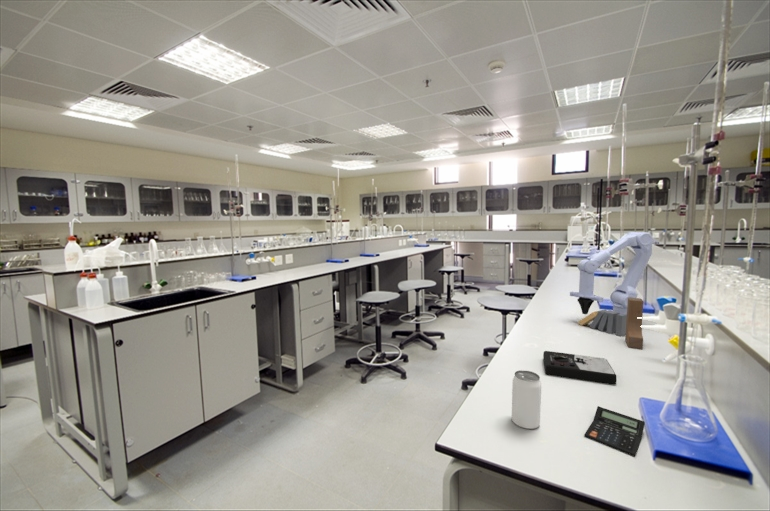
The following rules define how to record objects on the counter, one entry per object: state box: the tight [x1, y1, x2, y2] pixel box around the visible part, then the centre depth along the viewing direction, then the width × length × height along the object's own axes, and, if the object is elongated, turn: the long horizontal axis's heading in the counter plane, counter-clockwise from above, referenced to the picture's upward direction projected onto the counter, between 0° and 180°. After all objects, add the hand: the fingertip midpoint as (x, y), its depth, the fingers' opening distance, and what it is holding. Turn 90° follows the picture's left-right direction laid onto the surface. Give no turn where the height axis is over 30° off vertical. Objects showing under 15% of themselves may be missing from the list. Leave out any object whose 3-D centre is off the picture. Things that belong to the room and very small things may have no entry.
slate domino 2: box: [597, 309, 614, 332], centre depth 146 cm, size 5×2×9 cm, turn 118°
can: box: [511, 369, 542, 430], centre depth 80 cm, size 6×6×12 cm
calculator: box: [583, 405, 646, 458], centre depth 76 cm, size 9×12×3 cm
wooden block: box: [624, 297, 644, 350], centre depth 129 cm, size 9×4×18 cm, turn 150°
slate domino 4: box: [615, 313, 627, 338], centre depth 141 cm, size 5×2×9 cm, turn 118°
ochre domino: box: [578, 310, 600, 326], centre depth 153 cm, size 5×2×9 cm
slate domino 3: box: [606, 311, 620, 335], centre depth 144 cm, size 5×2×9 cm, turn 118°
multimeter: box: [542, 350, 617, 386], centre depth 108 cm, size 13×19×5 cm
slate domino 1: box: [589, 309, 608, 330], centre depth 149 cm, size 5×2×9 cm, turn 118°
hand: (585, 313), depth 155 cm, fingers closed
